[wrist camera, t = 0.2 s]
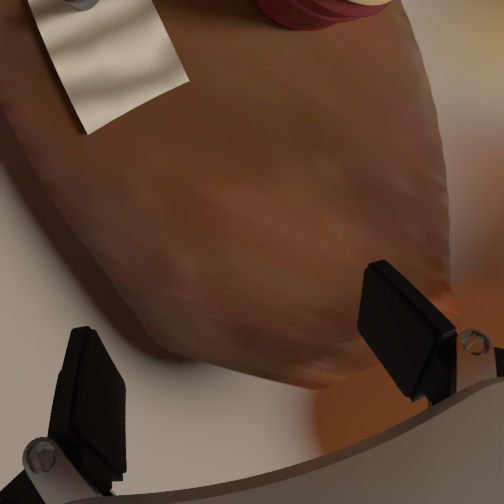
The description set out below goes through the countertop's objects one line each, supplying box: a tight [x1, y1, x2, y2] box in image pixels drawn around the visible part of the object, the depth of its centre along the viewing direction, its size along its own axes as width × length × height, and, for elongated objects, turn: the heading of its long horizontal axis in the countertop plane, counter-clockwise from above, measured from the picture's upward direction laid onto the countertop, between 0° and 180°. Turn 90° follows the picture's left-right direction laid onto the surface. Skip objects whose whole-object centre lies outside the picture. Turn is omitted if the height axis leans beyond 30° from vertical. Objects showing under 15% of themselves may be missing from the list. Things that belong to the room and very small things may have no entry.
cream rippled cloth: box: [28, 0, 189, 135], centre depth 26 cm, size 22×13×2 cm, turn 22°
